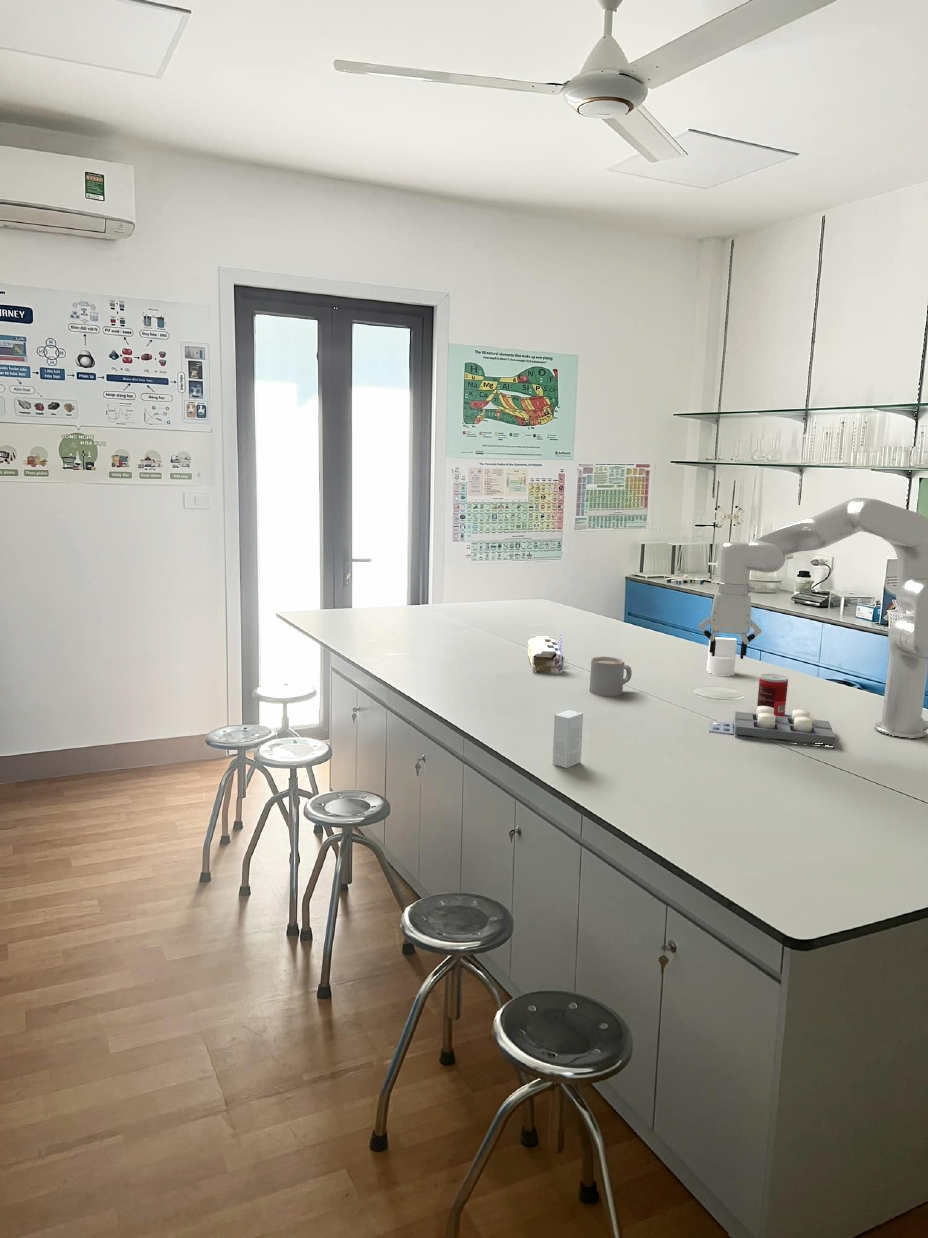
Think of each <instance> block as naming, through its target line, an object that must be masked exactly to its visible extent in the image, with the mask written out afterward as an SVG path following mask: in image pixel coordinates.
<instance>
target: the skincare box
mask: <svg viewBox="0 0 928 1238" xmlns="http://www.w3.org/2000/svg"><path fill="white" fill-rule="evenodd" d="M553 719H554V722H553V741H552V742H553V744H552V745H553V746H552V765H553V764H554V766H557V765H558V766H557V767H560V766H561V767H560V768H564V769H569V768H571V767H573V766H575V765H577V764H580V763H581V760H582V745H583V743H582V741H583V723H584V722H583V721H584V713H583V712H580V711H574V710H570V709H567V710H565V711H561V712H559V713H556V714H554V717H553Z"/></svg>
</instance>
